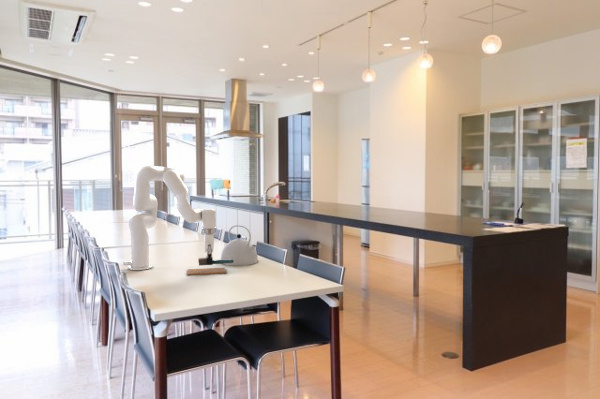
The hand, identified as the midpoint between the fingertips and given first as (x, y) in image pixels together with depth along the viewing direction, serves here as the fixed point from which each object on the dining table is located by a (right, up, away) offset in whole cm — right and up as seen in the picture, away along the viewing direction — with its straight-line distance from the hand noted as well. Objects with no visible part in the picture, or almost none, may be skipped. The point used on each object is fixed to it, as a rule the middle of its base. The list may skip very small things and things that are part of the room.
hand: (209, 263), depth 253 cm
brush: (+4, 0, +1) cm, 4 cm away
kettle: (+13, -3, +29) cm, 32 cm away
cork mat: (-2, -5, 0) cm, 5 cm away
